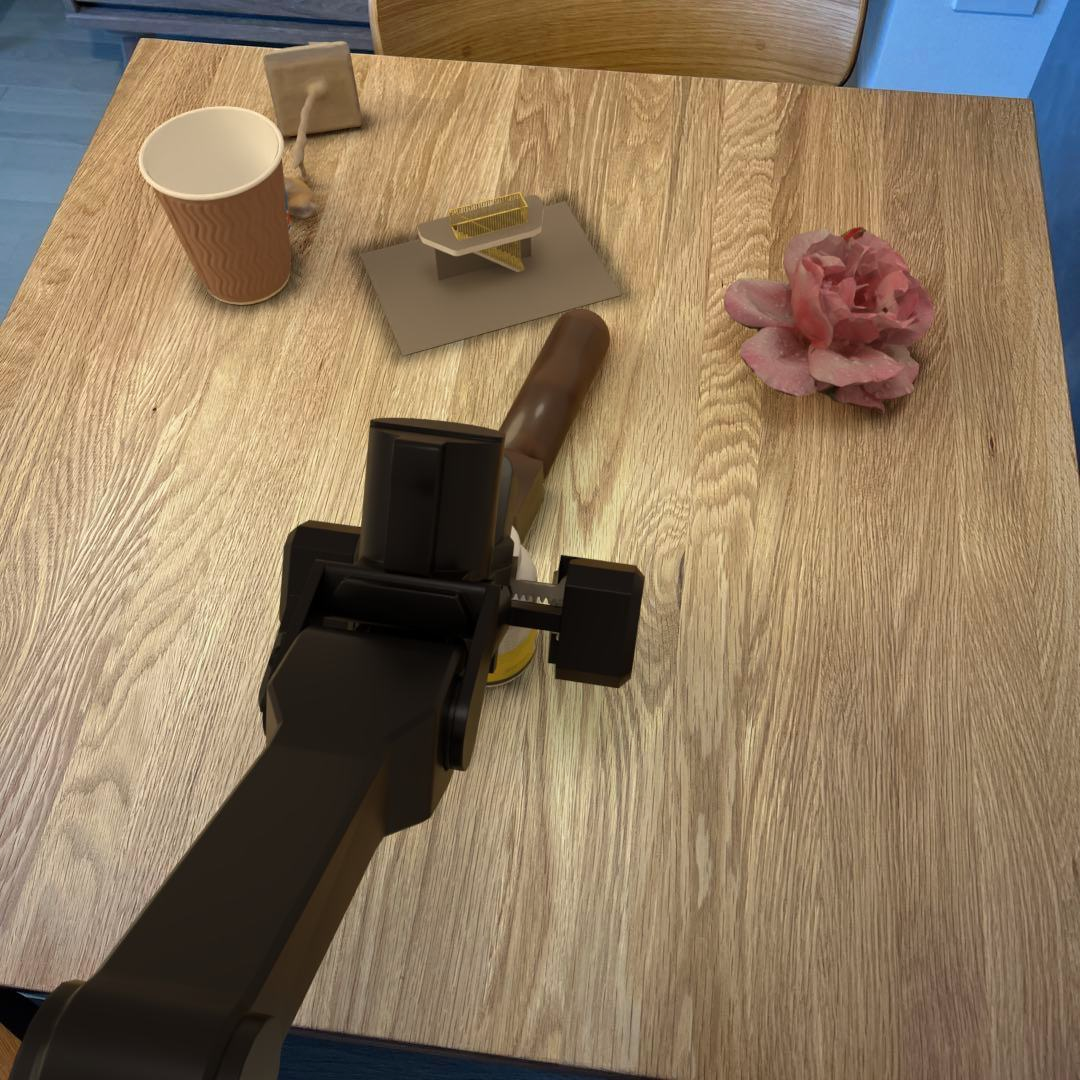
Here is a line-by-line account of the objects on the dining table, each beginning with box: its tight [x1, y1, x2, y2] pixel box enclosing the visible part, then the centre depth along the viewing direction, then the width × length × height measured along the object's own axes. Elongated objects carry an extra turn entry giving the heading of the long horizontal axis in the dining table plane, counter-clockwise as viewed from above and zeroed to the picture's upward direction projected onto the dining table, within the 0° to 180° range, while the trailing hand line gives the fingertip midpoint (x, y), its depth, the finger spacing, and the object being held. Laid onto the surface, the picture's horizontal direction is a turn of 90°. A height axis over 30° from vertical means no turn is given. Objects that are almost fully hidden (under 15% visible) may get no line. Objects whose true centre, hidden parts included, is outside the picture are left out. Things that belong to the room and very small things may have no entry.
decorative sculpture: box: [263, 41, 363, 220], centre depth 96 cm, size 16×10×7 cm, turn 170°
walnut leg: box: [498, 308, 611, 546], centre depth 80 cm, size 20×4×4 cm, turn 159°
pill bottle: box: [486, 526, 539, 688], centre depth 68 cm, size 6×6×12 cm
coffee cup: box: [138, 105, 292, 306], centre depth 86 cm, size 10×10×12 cm
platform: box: [359, 191, 622, 356], centre depth 89 cm, size 12×18×7 cm, turn 111°
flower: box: [723, 226, 937, 415], centre depth 82 cm, size 15×15×10 cm
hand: (487, 569), depth 68 cm, fingers open, 8 cm apart
